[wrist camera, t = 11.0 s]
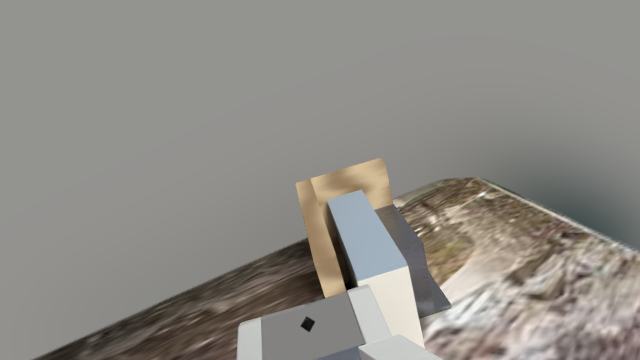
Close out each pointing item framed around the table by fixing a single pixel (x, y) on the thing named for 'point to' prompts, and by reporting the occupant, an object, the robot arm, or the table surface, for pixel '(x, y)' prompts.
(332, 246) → the oak shelf
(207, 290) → the table surface
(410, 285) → the slate book box
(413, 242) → the metal bookend
